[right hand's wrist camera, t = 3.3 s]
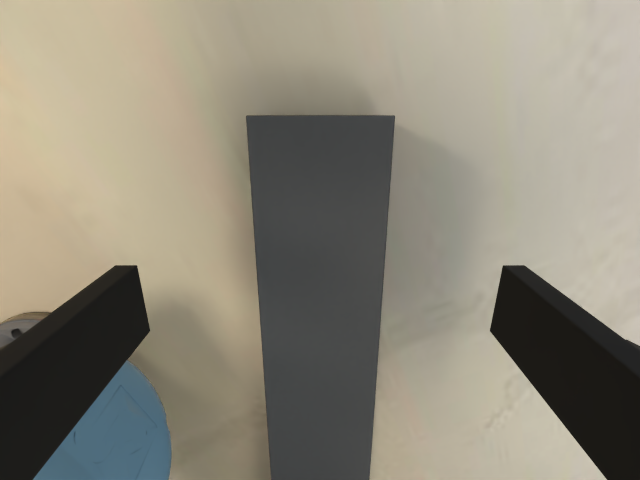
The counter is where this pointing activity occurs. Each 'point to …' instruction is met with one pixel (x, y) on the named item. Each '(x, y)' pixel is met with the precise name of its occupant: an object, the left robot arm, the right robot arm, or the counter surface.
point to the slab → (320, 284)
